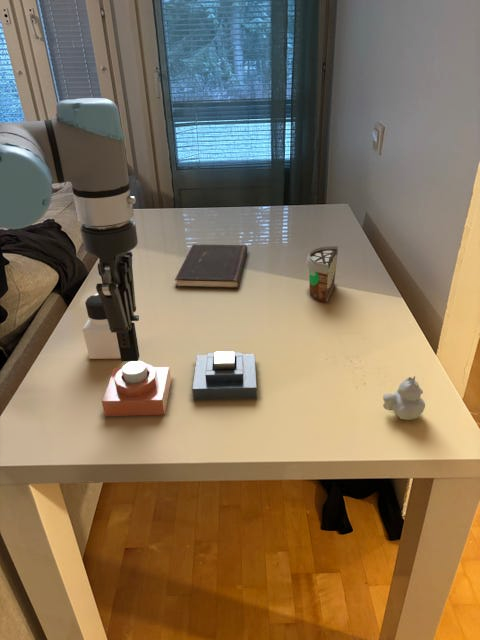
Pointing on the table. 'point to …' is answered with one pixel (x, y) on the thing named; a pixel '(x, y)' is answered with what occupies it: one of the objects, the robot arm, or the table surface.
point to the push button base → (225, 378)
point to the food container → (322, 271)
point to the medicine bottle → (99, 332)
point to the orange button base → (137, 393)
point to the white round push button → (134, 372)
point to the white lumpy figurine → (406, 400)
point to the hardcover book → (212, 266)
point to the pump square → (224, 361)
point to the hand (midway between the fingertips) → (130, 358)
